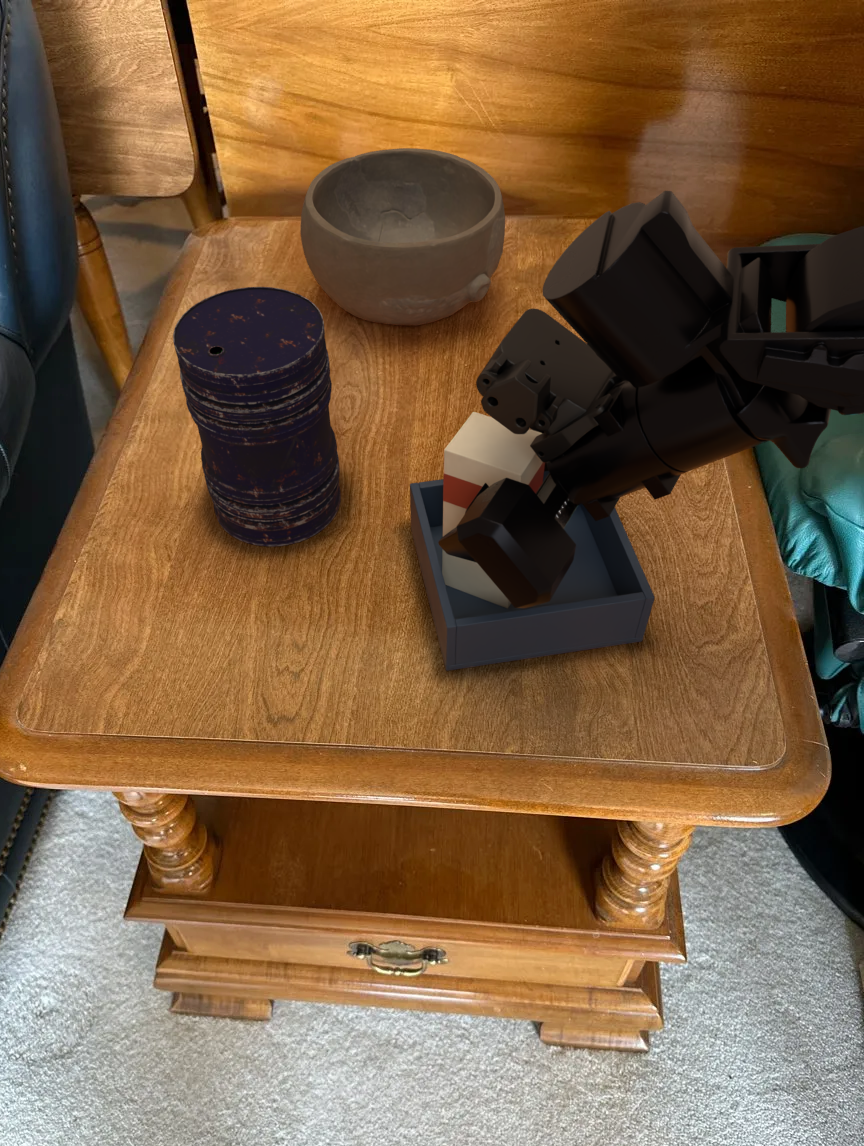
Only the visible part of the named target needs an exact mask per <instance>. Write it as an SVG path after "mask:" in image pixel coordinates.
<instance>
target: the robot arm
mask: <svg viewBox="0 0 864 1146" xmlns="http://www.w3.org/2000/svg"><path fill="white" fill-rule="evenodd" d="M551 267H552V268H551V269H550V271H549V272H548V273H547V276H546V278H545V280H544V282H543V284H542V285H543V286H542V296H543V297H544V298H545V300H546V301H547V302H548V303H549V304H550V305H551V306H552V307H553V308H554V310H555V311H556V312H557V313H558V314H559V315H560V316H561V317H562V318H563V319H564V320H565V322H566V323H567V324H568V325H569V326H570V327H571V328H572V329H573V330H574V331H575V333H577V335H576V334H574V333H573V332H572V331H571V330H570V329H568V328H567V327H566V326H564V325H563V324H561V323H560V322H559V321H558V320H556V319H555V318H553V317H552V316H551V315H550V314H549V313H547V312H545V311H544V310H542V309H539V308H528V309H526V310H524V312H523V313H522V314H521V316H520V317H519V318H518V320H517V321H515V323H514V325H513V326H512V327H511V328H510V329H509V331H508V332H507V334H506V335H505V336H504V337H503V338H502V340H501V341H500V343H499V344H498V346H497V348H496V349H495V351H494V352H493V353H492V355H491V357H490V358H489V360H488V361H487V363H486V364H485V366H484V367H483V368H482V370H481V371H480V373H479V375H478V376H477V378H476V382H475V387H476V389H477V391H478V393H479V394H480V396H482V398H481V400H480V404H481V408H482V410H483V412H484V413H485V414H486V415H487V416H489V417H492V418H494V419H495V420H496V421H498V422H499V423H500V424H502V425H503V426H504V427H506V428H507V429H508V430H510V431H511V432H512V433H514V434H525V433H526V432H527V431H528V430H529V429H531V430H534V431H537V432H540V433H542V434H540V435H538V436H536V438H535V439H534V440H533V442H532V443H531V445H530V447H531V448H532V449H533V451H534V452H535V453H536V454H537V456H538V457H539V458H540V460H541V461H542V462H544V463H545V467H544V471H549V474H548V475H547V477H546V478H545V480H544V481H543V483H542V484H541V486H540V488H539V489H538V491H537V492H536V493H535V492H534V491H533V490H532V488H531V487H530V486H529V485H527V484H524V483H521V482H519V481H516V480H513V479H510V478H507V477H506V478H504V479H502V480H500V481H498V482H495V483H493V484H492V485H491V486H490V487H489V486H488V485H487V483H485V484H484V485H483V486H482V488H481V489H480V491H479V492H478V494H477V495H476V496H475V498H474V499H473V501H472V502H471V504H470V505H469V506H468V508H467V509H466V512H465V515H464V516H463V518H462V519H461V521H460V522H459V523H458V525H457V526H456V527H455V528H454V529H452V530H451V531H450V532H448V533H447V534H446V535H445V536H443V537H442V538H441V539H440V540H439V542H438V544H439V545H440V547H441V548H442V549H443V550H444V551H445V552H446V553H447V554H448V555H451V556H455V557H458V558H462V559H465V560H469V561H473V562H476V563H477V564H478V565H479V566H480V567H481V568H482V569H483V571H484V572H485V573H486V574H487V575H488V576H489V578H490V579H491V580H492V581H493V582H494V584H495V585H496V586H497V587H498V588H499V589H500V591H501V592H502V593H503V594H504V595H505V597H506V598H507V599H508V600H509V601H510V602H511V604H512V605H513V606H514V607H515V608H528V607H532V606H535V605H539V604H542V603H546V602H549V601H550V600H551V598H552V597H553V595H554V593H555V591H556V590H557V588H558V586H559V584H560V583H561V581H562V579H563V578H564V576H565V574H566V572H567V571H568V569H569V567H570V566H571V564H572V562H573V560H574V554H575V548H576V544H575V542H574V541H573V540H572V539H571V537H570V536H569V535H568V534H567V532H566V531H565V530H564V528H565V527H566V525H567V523H568V522H569V520H570V518H571V517H572V515H573V513H574V512H575V510H576V508H577V507H578V505H581V504H583V505H584V507H585V508H586V509H587V511H588V512H589V513H590V514H591V516H592V517H593V518H594V520H595V521H598V520H600V519H603V518H606V517H609V516H610V514H611V513H612V511H613V509H614V507H615V508H616V506H617V504H618V502H619V500H620V499H621V498H622V497H624V496H627V495H631V494H632V493H635V492H638V491H641V490H643V489H646V490H647V492H648V493H649V495H650V496H651V497H652V498H653V500H655V501H656V500H659V499H662V498H664V497H667V496H669V495H671V494H672V492H673V490H674V488H675V487H676V484H677V482H678V481H679V479H680V477H681V475H683V474H686V473H689V472H690V471H694V470H695V469H698V468H701V467H704V466H707V465H709V464H712V463H714V462H717V461H720V460H723V459H725V458H728V457H730V456H733V455H735V454H739V453H741V452H744V451H747V450H749V449H751V448H754V447H757V446H759V445H762V444H765V443H767V442H772V443H773V444H774V445H775V447H777V449H778V450H779V451H780V452H781V453H782V455H784V457H786V459H787V460H788V461H789V462H790V464H791V465H792V466H793V467H794V468H796V469H805V468H807V467H808V466H809V464H810V462H811V456H812V453H813V450H814V447H815V445H816V443H817V442H818V439H819V438H820V436H821V435H822V433H823V432H824V431H825V430H826V429H827V428H828V426H829V421H830V417H831V412H832V410H833V411H836V412H838V413H839V414H840V415H841V416H857V415H863V414H864V225H862V226H859V227H855V228H853V229H851V230H850V229H849V230H848V231H844V232H841V233H838V234H835V235H834V236H832V237H829V238H827V239H825V240H824V241H822V242H821V243H812V244H811V243H809V244H787V245H786V244H785V245H783V244H782V245H764V246H763V245H762V246H760V245H759V246H741V247H739V246H737V247H732V248H730V249H729V250H728V252H727V253H726V258H725V264H724V263H723V262H722V261H721V260H720V258H719V257H718V256H717V254H716V253H715V252H714V251H713V249H712V248H711V247H710V246H709V244H708V243H707V241H706V240H705V239H704V238H703V237H702V235H701V234H700V233H699V231H697V229H696V228H695V226H694V225H693V222H692V220H691V217H690V215H689V212H688V211H687V209H686V208H685V206H684V205H683V203H681V201H680V200H679V199H678V197H677V196H676V194H674V192H673V191H672V190H664V191H662V192H661V193H659V194H658V195H657V196H656V197H655V198H653V199H652V200H651V201H649V202H648V203H646V204H645V203H643V202H640V201H638V202H631V203H629V204H627V205H624V206H622V207H620V208H619V209H617V210H615V211H613V212H612V211H610V210H608V211H606V212H604V213H603V214H602V215H600V216H599V217H598V218H597V219H595V220H594V221H593V222H592V223H591V224H589V226H587V227H586V228H585V229H584V230H583V231H582V232H581V233H580V234H579V235H578V236H577V237H576V238H575V239H574V240H572V242H571V243H570V244H569V245H568V247H567V248H566V249H565V250H564V251H563V252H562V254H560V256H559V258H558V259H557V260H556V261H555V263H554V264H553V266H551ZM773 300H776V301H780V302H783V303H785V331H777V332H776V331H775V332H772V309H773V307H772V304H773V303H772V301H773ZM578 336H579V337H578Z"/></svg>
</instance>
